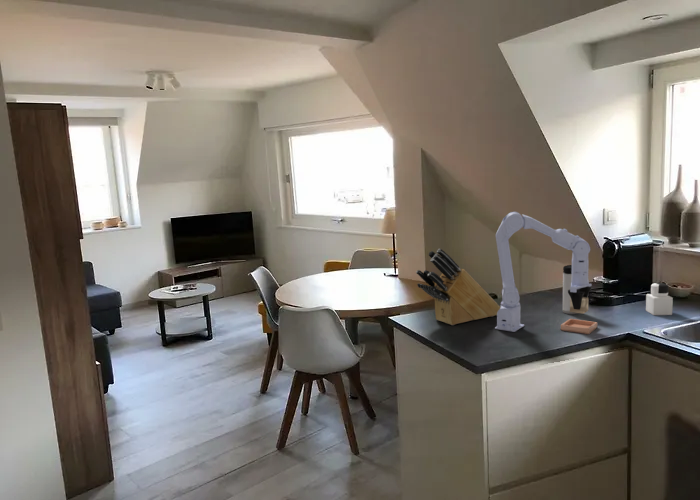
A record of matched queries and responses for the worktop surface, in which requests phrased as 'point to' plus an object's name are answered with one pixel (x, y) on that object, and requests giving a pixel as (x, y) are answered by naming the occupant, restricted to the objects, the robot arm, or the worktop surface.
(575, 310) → the beech block
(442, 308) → the knife block
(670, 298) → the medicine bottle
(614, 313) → the worktop surface
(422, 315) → the worktop surface
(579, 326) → the terracotta tray
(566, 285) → the travel mug
